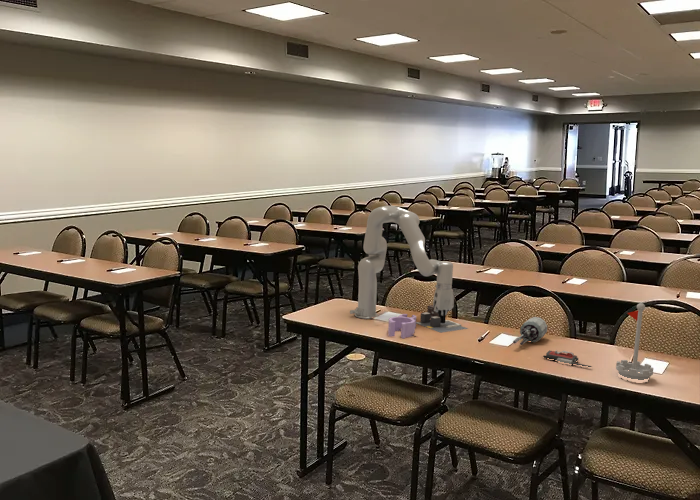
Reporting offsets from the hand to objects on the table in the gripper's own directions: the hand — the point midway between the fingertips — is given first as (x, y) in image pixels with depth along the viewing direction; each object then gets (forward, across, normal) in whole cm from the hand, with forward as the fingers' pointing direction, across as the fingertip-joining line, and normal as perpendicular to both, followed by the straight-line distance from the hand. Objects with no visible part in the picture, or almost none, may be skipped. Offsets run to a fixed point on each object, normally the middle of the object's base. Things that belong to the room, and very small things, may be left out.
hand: (441, 322), depth 295 cm
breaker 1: (+2, -4, +8) cm, 9 cm away
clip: (+3, -23, +2) cm, 23 cm away
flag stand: (+3, +19, -90) cm, 92 cm away
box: (+3, +8, +14) cm, 16 cm away
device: (+3, +18, -39) cm, 43 cm away
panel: (+3, 0, 0) cm, 3 cm away
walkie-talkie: (+3, +12, -66) cm, 67 cm away
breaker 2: (+2, -4, 0) cm, 5 cm away
